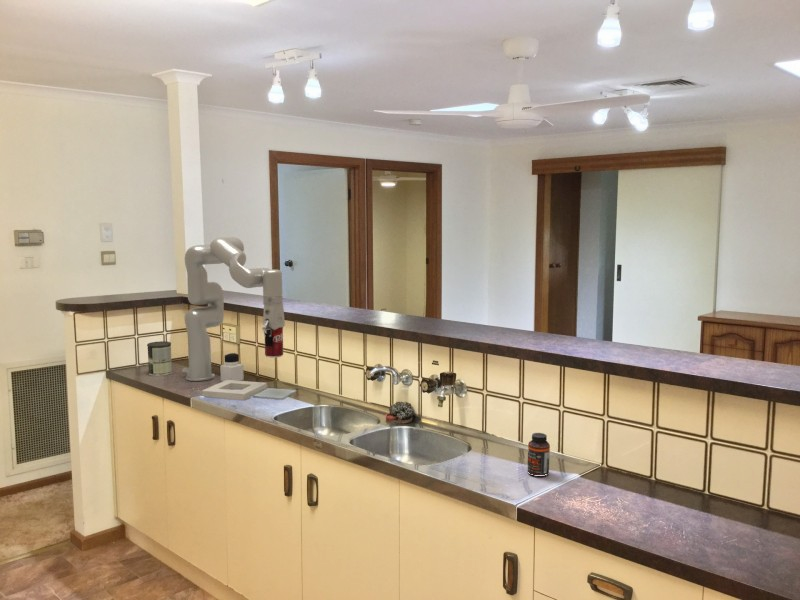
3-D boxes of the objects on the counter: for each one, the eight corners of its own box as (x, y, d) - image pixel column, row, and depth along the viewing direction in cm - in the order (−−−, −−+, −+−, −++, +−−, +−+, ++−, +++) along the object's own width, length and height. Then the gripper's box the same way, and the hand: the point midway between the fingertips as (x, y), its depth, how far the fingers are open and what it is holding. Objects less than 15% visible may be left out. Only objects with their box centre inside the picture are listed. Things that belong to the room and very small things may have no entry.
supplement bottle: (523, 475, 188) (524, 435, 186) (532, 468, 193) (533, 430, 191) (544, 479, 185) (545, 439, 183) (552, 472, 189) (553, 433, 188)
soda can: (285, 354, 275) (284, 325, 274) (280, 358, 268) (279, 328, 267) (268, 354, 276) (267, 325, 275) (262, 357, 269) (261, 327, 268)
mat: (252, 397, 270) (252, 395, 270) (268, 389, 282) (268, 388, 282) (282, 399, 266) (282, 398, 266) (296, 391, 278) (296, 390, 278)
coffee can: (143, 375, 308) (142, 344, 307) (158, 370, 318) (157, 340, 316) (162, 376, 305) (161, 345, 303) (177, 371, 315) (175, 342, 313)
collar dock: (201, 396, 271) (201, 390, 270) (227, 385, 289) (226, 379, 288) (244, 400, 265) (244, 394, 265) (267, 388, 283) (267, 382, 283)
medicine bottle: (244, 380, 298) (243, 353, 297) (231, 383, 293) (230, 356, 291) (232, 378, 302) (232, 351, 301) (220, 381, 297) (219, 354, 295)
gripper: (271, 303, 260) (272, 348, 262) (291, 298, 277) (291, 341, 279) (253, 302, 262) (254, 347, 264) (274, 297, 279) (275, 340, 281)
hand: (273, 344), depth 272 cm, fingers closed on soda can, 7 cm apart
